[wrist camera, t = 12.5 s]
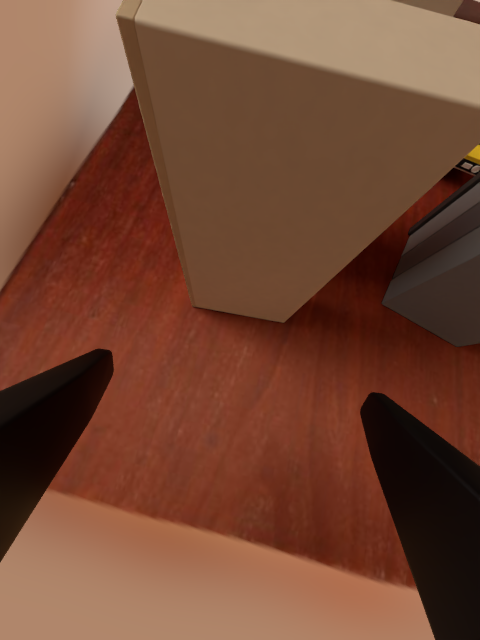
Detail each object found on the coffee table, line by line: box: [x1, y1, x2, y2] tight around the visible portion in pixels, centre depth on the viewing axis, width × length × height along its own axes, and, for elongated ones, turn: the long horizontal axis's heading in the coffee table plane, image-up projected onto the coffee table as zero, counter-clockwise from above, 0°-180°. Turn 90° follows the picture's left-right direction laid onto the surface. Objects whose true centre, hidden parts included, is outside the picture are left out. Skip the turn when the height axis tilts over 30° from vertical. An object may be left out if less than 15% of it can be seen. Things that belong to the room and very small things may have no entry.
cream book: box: [116, 0, 480, 323], centre depth 11 cm, size 2×7×14 cm, turn 81°
